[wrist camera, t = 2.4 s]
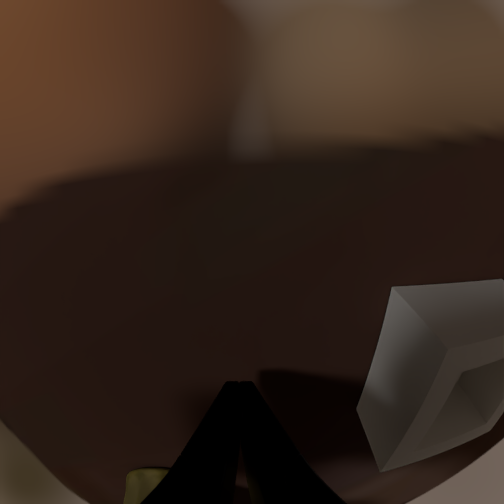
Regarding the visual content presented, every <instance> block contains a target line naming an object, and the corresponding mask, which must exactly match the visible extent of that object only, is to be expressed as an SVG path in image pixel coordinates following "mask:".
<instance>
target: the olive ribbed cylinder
mask: <svg viewBox="0 0 504 504" xmlns="http://www.w3.org/2000/svg"><path fill="white" fill-rule="evenodd" d="M169 470H170V469H167V468H153V467H150V468H140V469H136V470H133V471H131V472H130V473H128V475H127V480H126V493H125V498H124V504H140V503H141V502H142V501H143V500H144V499H145V498H146V497H147V496H148V495H149V494H150V492H151V491H152V490H153V489H154V488H155V487H156V486H157V485H158V484H159V483H160V481H161V480H162V479H163V478H164V477H165V476H166V474H167V473H168V471H169Z"/></svg>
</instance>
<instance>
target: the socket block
mask: <svg viewBox="0 0 504 504" xmlns="http://www.w3.org/2000/svg"><path fill="white" fill-rule="evenodd" d="M356 410H357V413H358V415H359V418H360V420H361V423H362V426H363V428H364V431H365V433H366V436H367V439H368V441H369V444H370V447H371V449H372V452H373V455H374V457H375V460H376V463H377V465H378V468H379V471H380V472H384V471H388V470H391V469H395V468H398V467H401V466H405V465H408V464H411V463H414V462H417V461H420V460H423V459H426V458H429V457H431V456H434V455H437V454H439V453H442V452H444V451H447V450H449V449H452V448H454V447H457V446H459V445H461V444H464V443H466V442H468V441H470V440H472V439H474V438H477V437H479V436H481V435H483V434H485V433H487V432H489V431H490V430H491V429H492V428H493V426H494V425H495V424H496V422H497V421H498V419H499V418H500V417H501V415H502V414H503V412H504V280H502V279H495V280H484V281H473V282H460V283H447V284H432V285H416V286H399V287H392V289H391V293H390V298H389V302H388V306H387V311H386V315H385V319H384V322H383V326H382V330H381V334H380V337H379V341H378V344H377V348H376V351H375V355H374V358H373V361H372V364H371V368H370V371H369V374H368V377H367V380H366V383H365V386H364V389H363V392H362V394H361V397H360V400H359V403H358V405H357V408H356Z"/></svg>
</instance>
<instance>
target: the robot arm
mask: <svg viewBox="0 0 504 504" xmlns="http://www.w3.org/2000/svg"><path fill="white" fill-rule="evenodd" d="M239 396H240V404H239ZM240 440H241V449H242V455H243V461H244V466H245V472H246V477H247V483H248V488H249V493H250V499H251V504H347V503H345V502H344V501H343V500H342V499H341V498H340V497H339V496H338V495H337V494H336V493H335V492H334V491H333V490H332V489H331V488H330V487H329V486H328V485H327V484H326V483H325V482H324V481H323V480H322V479H321V478H320V477H319V476H318V475H317V474H316V473H315V471H314V470H313V469H312V468H311V466H310V465H309V464H308V462H307V461H306V460H305V458H304V457H303V455H302V454H300V451H299V450H298V449H297V447H296V446H295V444H294V443H293V442H292V440H291V439H290V437H289V436H288V434H287V433H286V431H285V430H284V428H283V427H282V426H281V424H280V423H279V421H278V420H277V418H276V417H275V415H274V414H273V412H272V411H271V409H270V408H269V406H268V405H267V403H266V402H265V400H264V398H263V397H262V395H261V394H260V392H259V391H258V389H257V388H256V386H255V384H254V383H253V382H252V381H241V382H240V383H239V382H238V381H227V382H225V384H224V385H223V387H222V389H221V390H220V392H219V394H218V395H217V397H216V399H215V400H214V402H213V403H212V405H211V407H210V408H209V410H208V412H207V413H206V415H205V416H204V418H203V420H202V421H201V423H200V424H199V426H198V428H197V429H196V431H195V432H194V434H193V435H192V437H191V439H190V440H189V442H188V443H187V445H186V446H185V448H184V449H183V451H182V453H181V455H180V456H179V457H178V458H177V460H176V462H175V463H174V465H173V466H172V467H171V469H170V470H169V471H168V473H167V474H166V476H165V477H164V478H163V479H162V480H161V481H160V483H159V484H158V485H157V486H156V487H155V488H154V489H153V490H152V491H151V492H150V494H149V495H148V496H147V497H146V498H145V499H144V500H143V501H142V502H141V503H140V504H233V497H234V489H235V481H236V474H237V466H238V458H239V450H240Z"/></svg>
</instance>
